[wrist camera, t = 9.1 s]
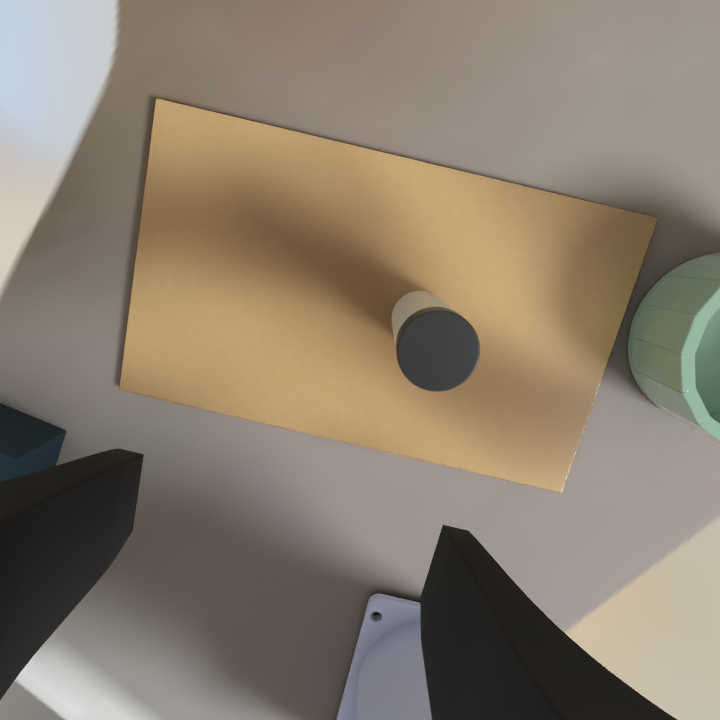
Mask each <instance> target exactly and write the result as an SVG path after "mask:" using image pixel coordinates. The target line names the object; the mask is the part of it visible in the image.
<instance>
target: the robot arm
mask: <svg viewBox="0 0 720 720" xmlns="http://www.w3.org/2000/svg"><path fill="white" fill-rule="evenodd" d="M143 455H144V454H139V453H135V452H131V451H127V450H122V449H113V450H108V451H104V452H101V453H97V454H94V455H90V456H87V457H83V458H80V459H77V460H74V461H70V462H67V463H64V464H61V465H57V466H54V467H51V468H47V469H44V470H41V471H38V472H34V473H31V474H27V475H23V476H19V477H16V478H12V479H8V480H4V481H1V482H0V700H1V698H2V697H3V695H4V694H5V693H6V691H7V690H8V688H9V687H10V686H11V684H12V683H13V681H14V680H15V679H16V677H17V676H18V675H19V673H20V672H21V671H22V669H23V668H24V667H25V666H26V664H27V663H28V662H29V661H30V659H31V658H32V657H33V656H34V654H35V653H36V652H37V651H38V650H39V648H40V647H41V646H42V645H43V644H44V643H45V641H46V640H47V639H48V638H49V637H50V636H51V635H52V633H53V632H54V631H55V630H56V629H57V628H58V626H59V625H60V624H61V623H62V622H63V621H64V619H65V618H66V617H67V616H68V615H69V614H70V613H71V611H72V610H73V609H74V608H75V607H76V606H77V604H78V603H79V602H80V601H81V600H82V599H83V597H84V596H85V595H86V594H87V593H88V592H89V590H90V589H91V588H92V587H93V586H94V585H95V583H96V582H97V581H98V580H99V579H100V577H101V576H102V575H103V574H104V573H105V571H106V570H107V569H108V568H109V566H110V565H111V563H112V562H113V560H114V559H115V557H116V556H117V554H118V553H119V551H120V550H121V548H122V547H123V545H124V544H125V542H126V540H127V539H128V537H129V536H130V534H131V533H132V531H133V524H134V517H135V510H136V503H137V497H138V490H139V483H140V476H141V469H142V462H143ZM374 612H379V613H380V615H378V616H375V615H373V614H372V613H374ZM336 720H677V719H675V718H673V717H672V716H671V715H669V714H667V713H666V712H664V711H663V710H662V709H660V708H659V707H657V706H656V705H655V704H653V703H652V702H650V701H649V700H647V699H646V698H644V697H643V696H642V695H640V694H639V693H638V692H636V691H635V690H634V689H632V688H631V687H629V686H628V685H627V684H626V683H624V682H623V681H622V680H620V679H619V678H618V677H616V676H615V675H614V674H612V673H611V672H610V671H608V670H607V669H606V668H605V667H603V666H602V665H601V664H600V663H598V662H597V661H596V660H595V659H594V658H592V657H591V656H590V655H589V654H588V653H587V652H585V651H584V650H583V649H582V648H581V647H580V646H578V645H577V644H576V643H575V642H574V641H573V640H572V639H570V638H569V637H568V636H567V635H566V634H565V633H564V632H563V631H562V630H561V629H559V628H558V627H557V626H556V625H555V624H554V623H553V622H552V621H551V620H550V619H549V618H548V617H547V616H546V615H545V614H544V613H543V612H542V611H541V610H540V609H539V608H538V607H537V606H536V605H535V604H534V603H533V602H532V601H531V600H530V599H529V598H528V597H527V596H526V594H525V593H524V592H523V591H522V590H521V589H520V588H519V587H518V586H517V585H516V584H515V583H514V581H513V580H512V579H511V578H510V577H509V576H508V575H507V574H506V572H505V571H504V570H503V569H502V568H501V567H500V566H499V564H498V563H497V562H496V561H495V560H494V559H493V558H492V556H491V555H490V554H489V553H488V552H487V551H486V549H485V548H484V547H483V546H482V545H481V544H480V543H479V541H478V540H477V539H476V538H475V537H474V536H473V535H472V534H471V533H470V532H469V531H467V530H462V529H458V528H454V527H450V526H445V525H443V527H442V530H441V533H440V536H439V540H438V543H437V546H436V549H435V552H434V556H433V559H432V562H431V565H430V569H429V572H428V575H427V578H426V581H425V585H424V588H423V591H422V594H421V598H420V603H419V602H415V601H411V600H406V599H402V598H398V597H393V596H389V595H385V594H374V595H372V596H371V597H370V599H369V601H368V604H367V608H366V612H365V615H364V619H363V623H362V626H361V630H360V634H359V638H358V641H357V645H356V649H355V652H354V656H353V660H352V663H351V667H350V671H349V674H348V678H347V682H346V686H345V689H344V693H343V697H342V700H341V704H340V708H339V711H338V715H337V719H336Z"/></svg>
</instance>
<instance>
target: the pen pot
mask: <svg viewBox="0 0 720 720" xmlns="http://www.w3.org/2000/svg"><path fill="white" fill-rule="evenodd" d="M628 357H629V364H630V367H631V371H632V374H633V376H634V378H635V381H636V383H637V384H638V386H639V387H640V389H641V390H642V392H643V393H644V394H645V395H646V396H647V397H648V399H650V400H651V401H652V402H653V403H654V404H655V405H657V406H658V407H660V408H662V409H663V410H665V411H666V412H668V413H669V414H670V415H672V416H673V417H675V418H676V419H678V420H680V421H682V422H683V423H685V424H687V425H689V426H691V427H692V428H694V429H696V430H698V431H699V432H701V433H703V434H705V435H707V436H708V437H710V438H712V439H714V440H715V441H717V442H719V443H720V253H712V254H708V255H703V256H700V257H697V258H694V259H692V260H689V261H687V262H685V263H683V264H681V265H679V266H678V267H676V268H674V269H673V270H671V271H670V272H668V273H667V274H666V275H665V276H663V277H662V278H661V279H660V280H659V281H658V282H657V283H656V284H655V285H654V286H653V287H652V288H651V289H650V290H649V292H648V293H647V294H646V296H645V297H644V298H643V300H642V302H641V303H640V305H639V307H638V308H637V311H636V313H635V315H634V318H633V320H632V324H631V327H630V331H629V337H628Z"/></svg>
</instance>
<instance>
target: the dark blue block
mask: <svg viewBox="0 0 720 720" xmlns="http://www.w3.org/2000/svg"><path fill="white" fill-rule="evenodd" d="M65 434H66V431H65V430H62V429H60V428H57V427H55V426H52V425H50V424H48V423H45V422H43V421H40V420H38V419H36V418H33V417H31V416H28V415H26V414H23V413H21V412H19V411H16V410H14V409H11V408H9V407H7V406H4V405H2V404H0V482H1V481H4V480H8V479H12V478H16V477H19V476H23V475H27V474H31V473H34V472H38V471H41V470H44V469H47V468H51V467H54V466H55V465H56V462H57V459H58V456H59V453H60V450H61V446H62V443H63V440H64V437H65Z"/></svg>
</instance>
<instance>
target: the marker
mask: <svg viewBox="0 0 720 720" xmlns="http://www.w3.org/2000/svg"><path fill="white" fill-rule="evenodd" d="M391 320H392V328H393V335H394V342H395V348H396V355H397V361H398V364H399V367H400V369H401V371H402V373H403V374H404V376H405V377H406V378H407V379H408V380H409V381H410V382H411V383H412V384H414V385H415V386H417V387H419V388H421V389H424V390H427V391H434V392H440V391H447V390H451V389H453V388H456V387H458V386H459V385H461V384H463V383H464V382H465V381H466V380H467V379H468V378H469V377H470V376H471V375H472V373H473V372H474V370H475V369H476V367H477V364H478V361H479V357H480V343H479V339H478V336H477V333H476V331H475V329H474V328H473V327H472V325H471V324H470V323H469V322H468V321H467V320H466V319H465V318H463V317H462V316H461V315H460V314H458V313H457V312H456V311H455V310H453V309H452V308H451V307H450V306H448V305H447V304H446V303H445V302H443V301H442V300H441V299H440V298H438V297H437V296H436V295H434V294H432V293H430V292H427V291H413V292H410V293H408V294H406V295H404V296H403V297H402V298H400V299H399V301H398V302H397V303H396V305H395V307H394V309H393V312H392V319H391Z"/></svg>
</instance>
